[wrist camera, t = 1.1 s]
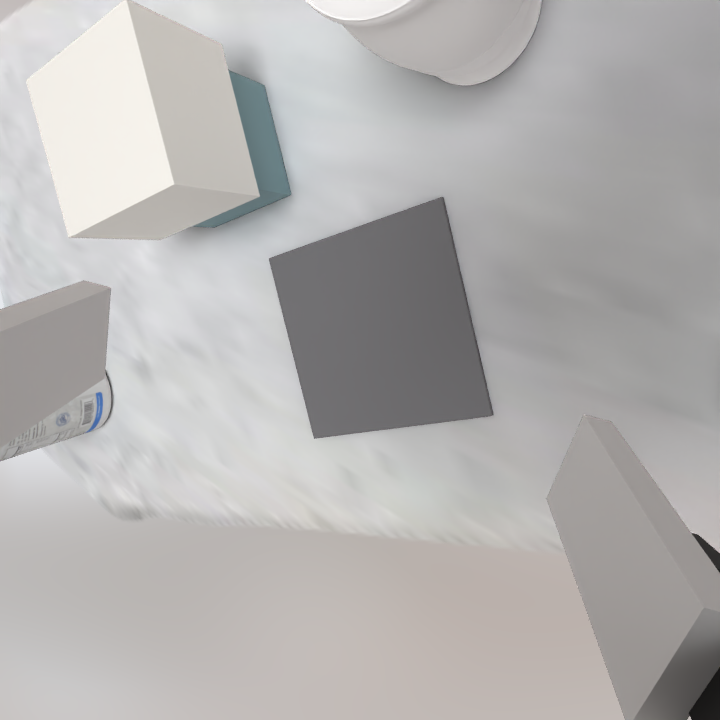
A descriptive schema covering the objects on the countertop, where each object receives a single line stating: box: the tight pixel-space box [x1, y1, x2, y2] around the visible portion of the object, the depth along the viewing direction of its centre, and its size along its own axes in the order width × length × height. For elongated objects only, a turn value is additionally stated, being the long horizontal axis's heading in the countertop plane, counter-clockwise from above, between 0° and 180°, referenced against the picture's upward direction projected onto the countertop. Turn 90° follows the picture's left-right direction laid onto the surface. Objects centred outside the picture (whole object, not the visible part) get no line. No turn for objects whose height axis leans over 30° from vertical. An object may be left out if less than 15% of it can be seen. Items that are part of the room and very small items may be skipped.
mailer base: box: [194, 70, 291, 228], centre depth 41 cm, size 9×9×13 cm
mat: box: [269, 197, 493, 439], centre depth 43 cm, size 16×16×1 cm
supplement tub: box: [0, 374, 111, 461], centre depth 56 cm, size 10×10×15 cm
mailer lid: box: [26, 0, 260, 240], centre depth 38 cm, size 11×11×8 cm
